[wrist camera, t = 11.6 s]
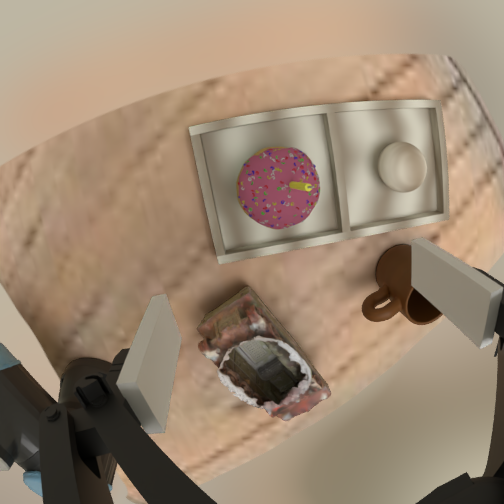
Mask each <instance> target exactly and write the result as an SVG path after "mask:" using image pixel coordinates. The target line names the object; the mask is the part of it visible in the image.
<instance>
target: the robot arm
mask: <svg viewBox="0 0 504 504" xmlns="http://www.w3.org/2000/svg"><path fill="white" fill-rule="evenodd" d="M411 246H412V278H411V286H413V287H414V288H415V289H416V290H417V291H418V292H419V293H420V294H422V295H423V296H424V297H425V298H426V299H427V300H428V301H429V302H430V303H432V304H433V305H434V306H435V307H436V308H437V309H438V310H439V311H440V312H441V313H442V314H444V315H445V316H446V317H447V318H448V319H449V320H450V321H451V322H452V323H453V324H454V325H455V326H456V327H457V328H458V329H460V330H461V331H462V332H463V333H464V334H465V335H466V336H467V337H468V338H469V339H470V340H471V341H472V342H473V343H474V344H475V345H476V346H477V347H478V348H479V349H481V348H483V347H485V346H487V345H489V344H491V343H492V340H493V336H494V332H496V333H497V334H498V335H499V340H498V344H497V348H496V351H495V355H494V357H496V356H497V353H498V371H497V391H496V404H495V415H494V423H493V431H492V437H491V444H490V451H489V456H488V461H487V465H486V469H485V472H484V474H483V476H482V477H476V478H470V477H469V475H468V473H467V472H466V473H464V474H462V475H460V476H459V477H457V478H455V479H453V480H451V481H449V482H447V483H445V484H443V485H441V486H439V487H437V488H436V489H435V490H434V491H432V492H431V493H430V494H428V495H427V496H426V497H424V498H423V499H422V500H420V501H419V502H418V503H416V504H504V284H503V283H501V282H500V281H498V280H497V279H494V278H493V277H492V276H491V275H489V274H487V273H486V272H484V271H483V270H480V269H477V268H474V267H471V266H470V265H468V264H466V263H465V262H463V261H462V260H460V259H458V258H457V257H455V256H453V255H452V254H450V253H448V252H447V251H445V250H443V249H442V248H440V247H438V246H437V245H435V244H433V243H432V242H430V241H428V240H426V239H425V238H423V237H422V238H418V239H414V240H411ZM181 340H182V337H181V334H180V332H179V329H178V326H177V323H176V321H175V318H174V315H173V312H172V309H171V306H170V304H169V301H168V298H167V295H166V294H162V295H157V296H152V298H151V300H150V303H149V305H148V307H147V309H146V312H145V314H144V316H143V319H142V321H141V323H140V326H139V328H138V331H137V333H136V335H135V338H134V340H133V343H132V345H131V347H130V348H128V349H122V350H121V351H120V352H119V353H118V354H117V355H116V356H115V358H114V360H113V363H112V364H110V363H108V362H105V361H102V360H98V359H93V358H81V359H77V360H74V361H73V362H71V363H70V364H69V365H68V366H67V368H66V369H65V371H64V373H63V375H62V377H61V381H60V392H59V399H58V403H57V402H56V401H55V400H54V399H53V398H52V397H51V396H50V395H49V394H48V393H47V392H46V391H45V390H44V389H43V388H42V387H41V386H40V384H38V382H37V381H36V380H35V379H34V378H33V377H32V376H31V375H30V374H29V372H28V371H27V370H26V369H25V368H24V367H23V366H22V364H21V362H20V361H19V360H17V359H16V358H15V357H14V356H13V355H12V354H11V353H10V352H9V350H8V349H7V348H6V347H5V346H4V345H3V344H2V343H0V471H7V470H9V469H10V467H11V466H12V464H13V463H14V462H16V463H17V464H18V465H19V466H21V467H22V468H23V469H24V470H25V471H26V472H24V473H23V481H24V483H25V484H26V485H27V486H28V487H29V488H30V489H31V490H32V491H33V492H35V493H36V494H38V495H40V496H41V497H43V503H44V504H114V503H113V500H112V497H111V493H110V491H111V490H112V483H113V479H114V474H115V471H116V467H117V463H118V464H119V465H120V467H121V468H122V470H123V471H124V473H125V474H126V475H127V477H128V478H129V479H130V481H131V482H132V483H133V485H134V486H135V487H136V489H137V490H138V491H139V493H140V494H141V495H142V496H143V498H144V499H145V500H146V501H147V503H148V504H217V503H216V502H215V501H214V500H213V499H211V498H210V497H209V496H208V495H207V494H206V493H205V492H204V491H202V490H201V489H200V488H199V487H198V486H197V485H196V484H195V483H194V482H193V481H192V480H191V479H190V478H189V477H188V476H187V475H186V474H184V473H183V472H182V471H181V470H180V469H179V468H178V467H177V466H176V465H175V464H174V463H173V461H172V460H171V459H170V458H169V457H168V456H167V455H166V454H165V453H164V452H163V451H162V450H161V449H160V448H159V447H158V446H157V445H156V443H155V442H154V441H153V440H152V439H151V438H150V437H149V436H148V434H154V433H165V429H166V423H167V417H168V411H169V405H170V399H171V394H172V388H173V382H174V377H175V371H176V366H177V361H178V356H179V350H180V345H181ZM141 426H142V427H143V429H144V430H145V431H144V430H143V429H142V428H141Z"/></svg>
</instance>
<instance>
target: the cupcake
mask: <svg viewBox="0 0 504 504" xmlns="http://www.w3.org/2000/svg"><path fill="white" fill-rule="evenodd" d="M315 167H316V166H315V165H314V164H313V163H312V161H311V160H310V158H309V157H308V156H307V154H306V153H304V152H302V151H300V150H299V149H296V148H293V147H291V148H286V147H280V146H279V147H267V148H263V149H261V150H259V151H258V152H256V153H255V154H254V155H253V156H252V157H251V158H249V159H248V160H247V161H245V163H244V164H243V166H242V168H241V170H240V173H239V175H238V178H237V182H236V189H237V198H238V202H239V204H240V206H241V208H242V209H243V211H244V212H245V213H246V214H247V215H248V216H249V217H250V218H252V219H253V220H255V221H256V222H257V223H259V224H261V225H263V226H266V227H268V228H271V229H276V230H279V229H287V228H288V227H290V228H292V227H293V226H294V225H296V224H298V223H301V222H304V220H305V219H306V218H307V217H308V216H309V215H310V213H311V211H312V210H313V208H314V207H315V205H316V204H317V202H318V199H319V195H320V181H319V176H318V173H317V171H316V169H315ZM291 226H292V227H291Z"/></svg>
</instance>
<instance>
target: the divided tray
mask: <svg viewBox="0 0 504 504" xmlns="http://www.w3.org/2000/svg"><path fill="white" fill-rule="evenodd" d="M189 132H190V136H191V141H192V146H193V151H194V156H195V161H196V166H197V170H198V175H199V180H200V184H201V189H202V193H203V198H204V203H205V207H206V212H207V216H208V220H209V225H210V229H211V234H212V238H213V242H214V247H215V251H216V255H217V259H218V264H224V263H230V262H235V261H240V260H245V259H251V258H256V257H261V256H266V255H271V254H277V253H282V252H287V251H292V250H297V249H303V248H308V247H313V246H318V245H323V244H328V243H333V242H339V241H344V240H349V239H354V238H359V237H364V236H369V235H374V234H379V233H384V232H390V231H395V230H400V229H405V228H410V227H415V226H420V225H425V224H430V223H435V222H440V221H445V220H449V180H448V163H447V150H446V139H445V130H444V122H443V114H442V107H441V101H440V100H382V101H362V102H347V103H335V104H324V105H315V106H306V107H298V108H290V109H283V110H276V111H269V112H263V113H256V114H250V115H245V116H239V117H234V118H229V119H223V120H218V121H214V122H209V123H204V124H200V125H195V126H191V127H189ZM394 142H407V143H410V144H412V145H414V146H415V147H417V148H418V149H419V150H420V151H421V153H422V154H423V156H424V158H425V160H426V165H427V173H426V177H425V179H424V181H423V183H422V184H421V185H420V186H419V187H418V188H417V189H416V190H414V191H411V192H407V193H401V192H396V191H394V190H392V189H390V188H389V187H387V186H386V185H385V184H384V182H383V181H382V179H381V178H380V175H379V172H378V159H379V156H380V154H381V152H382V151H383V149H384V148H385V147H387V146H388V145H390V144H392V143H394ZM279 146H280V147H286V148H291V147H293V148H296V149H299V150H300V151H302V152H304V153H306V154H307V156H308V157H309V158H310V160H311V161H312V163H313V164H314V165H315V166H316V167H315V169H316V171H317V173H318V176H319V181H320V195H319V199H318V202H317V204H316V205H315V207H314V208H313V210H312V211H311V213H310V215H309V216H308V217H307V218H306V219H305V220H304V222H301V223H298V224H296V225H294V226H293V227H292V226H291V227H292V228H290V227H288V228H287V229H279V230H276V229H271V228H268V227H266V226H263V225H261V224H259V223H257V222H256V221H255V220H253V219H252V218H250V217H249V216H248V215H247V214H246V213H245V212H244V211H243V209H242V208H241V206H240V204H239V202H238V198H237V189H236V182H237V178H238V175H239V173H240V170H241V168H242V166H243V164H244V163H245V161H247V160H248V159H249V158H251V157H252V156H253V155H254V154H255V153H256V152H258V151H259V150H261V149H263V148H267V147H279Z"/></svg>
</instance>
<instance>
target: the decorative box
mask: <svg viewBox="0 0 504 504" xmlns="http://www.w3.org/2000/svg"><path fill="white" fill-rule="evenodd" d="M197 331H198V332H199V333H200V334H201V335H202V337H203V338H204V339H203V341H201V342H199V345H198V349H199V350H200V352H201V353H202V354H203V355H204V356H205V357H206V358H208V359H211V360H212V361H213V363H214V364H215V365H217V367H218V376H219V378H220V381H221V383H223V385H224V386H226V387H228V388H229V389H228V390H230V392H235V393H236V394H233V395H234V396H236V397H239V399H241V401H242V400H243V401H247V403H248V404H249V405H253V406H254V407H257V408H260V409H263V408H264V409H265V410H266V412H267V413H268V414H269V415H270V416H271V417H275V416H277V417H279V418H281V419H282V420H283V421H288V420H290V419H291V418H293V417H295V416H297V415H300V414H302V413H304V412H307V411H308V412H309V411H310V409H312V408H313V407H314V406H315V405H317V404H318V403H319V402H320V401H322V400H325V399H327V398H328V397H329V396H330V395H331V391H330V389H329V386H328V384H327V383H326V381H325V380H324V379H323V378H322V377H321V375H320V374H319V373H318V371H317V370H316V369H315V368H314V366H313V365H312V364H311V362H310V361H309V360H308V358H307V357H306V356H305V354H304V353H303V351H302V350H301V348H300V347H299V345H298V344H297V343H296V342H295V340H294V339H293V338H292V337H291V336H290V334H289V333H288V332H287V331H286V330H285V329H284V328H283V326H282V325H281V324H280V323H279V322H278V320H277V319H276V318H275V317H274V316H273V315H272V313H271V312H270V311H269V309H268V308H267V307H266V306H265V305H264V304H263V302H262V301H261V300H260V299H259V297H258V296H257V295H256V294H255V292H254V291H252V289H251V288H250V287H249V286H248V287H245V288H243V289H242V290H240V291H239V293H237V294H236V295H235V296H233V297H232V298H230V299H229V300H227V301H226V302H225V303H223V304H222V305H220V306H219V307H218V308H216V309H215V310H213V311H210V313H208V314H206V315H205V317H204V319H203V320H202V322H201V324H200V325H199V326H198V328H197Z"/></svg>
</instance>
